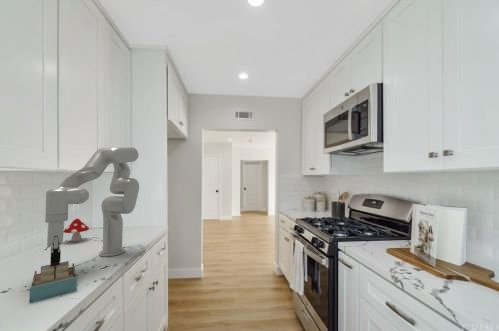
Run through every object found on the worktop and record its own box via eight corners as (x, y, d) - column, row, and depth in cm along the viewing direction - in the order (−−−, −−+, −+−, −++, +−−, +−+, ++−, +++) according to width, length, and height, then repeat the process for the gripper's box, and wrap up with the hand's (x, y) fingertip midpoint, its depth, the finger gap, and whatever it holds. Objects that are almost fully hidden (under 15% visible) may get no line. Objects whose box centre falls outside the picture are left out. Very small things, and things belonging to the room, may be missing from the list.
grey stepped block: (41, 272, 97) (41, 248, 97) (68, 266, 102) (68, 243, 103) (40, 274, 94) (41, 249, 95) (68, 268, 100) (69, 245, 101)
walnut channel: (34, 279, 97) (35, 270, 97) (73, 271, 105) (73, 263, 105) (31, 292, 86) (31, 283, 86) (75, 282, 94) (75, 273, 94)
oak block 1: (41, 278, 93) (41, 268, 93) (54, 275, 95) (54, 266, 96) (40, 282, 90) (40, 271, 90) (54, 279, 92) (54, 269, 92)
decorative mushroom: (81, 237, 162) (82, 216, 162) (94, 239, 156) (94, 217, 157) (58, 243, 149) (59, 219, 149) (71, 245, 143) (72, 221, 144)
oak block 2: (55, 275, 96) (56, 265, 96) (68, 272, 98) (68, 263, 98) (55, 278, 93) (55, 268, 93) (68, 276, 95) (68, 266, 95)
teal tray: (31, 293, 85) (32, 279, 85) (75, 282, 94) (75, 270, 94) (29, 302, 79) (29, 287, 79) (76, 290, 87) (77, 276, 87)
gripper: (46, 216, 103) (44, 257, 103) (44, 221, 91) (42, 269, 90) (67, 214, 108) (66, 254, 107) (68, 219, 95) (67, 264, 95)
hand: (55, 260), depth 99 cm, fingers closed on grey stepped block, 3 cm apart
